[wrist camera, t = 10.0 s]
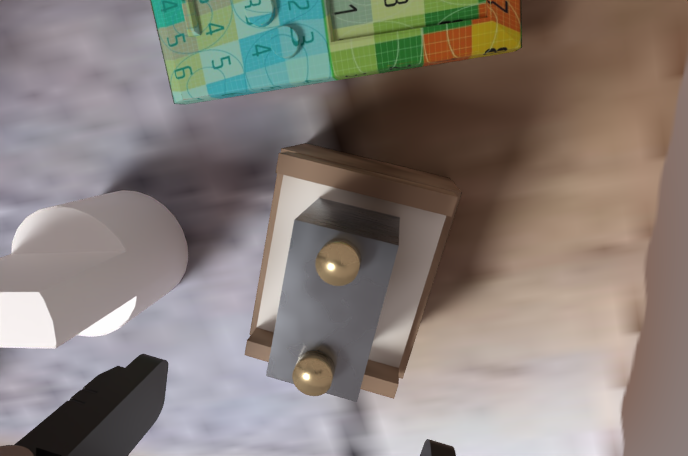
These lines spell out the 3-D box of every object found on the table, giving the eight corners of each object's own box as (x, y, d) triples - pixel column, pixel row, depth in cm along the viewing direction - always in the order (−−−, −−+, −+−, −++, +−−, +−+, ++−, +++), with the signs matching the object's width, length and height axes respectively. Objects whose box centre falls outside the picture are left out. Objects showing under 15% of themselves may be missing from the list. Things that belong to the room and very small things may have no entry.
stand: (276, 297, 30) (236, 352, 23) (305, 143, 26) (269, 151, 19) (402, 332, 29) (402, 401, 22) (449, 178, 25) (468, 199, 18)
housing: (319, 197, 21) (289, 224, 15) (399, 217, 21) (398, 251, 15) (294, 323, 23) (260, 386, 18) (366, 343, 23) (354, 414, 17)
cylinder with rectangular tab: (176, 187, 29) (26, 230, 17) (197, 298, 31) (76, 400, 19) (71, 192, 30) (-133, 235, 19) (98, 298, 32) (-69, 394, 21)
